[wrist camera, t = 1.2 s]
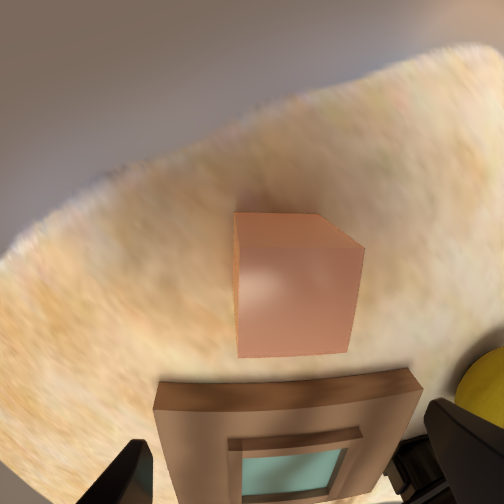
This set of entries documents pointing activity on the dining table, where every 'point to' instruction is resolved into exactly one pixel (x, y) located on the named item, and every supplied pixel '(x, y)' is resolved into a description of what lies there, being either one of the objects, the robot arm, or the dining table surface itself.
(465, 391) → the lemon
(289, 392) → the brown flat frame
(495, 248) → the dining table surface
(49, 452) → the dining table surface
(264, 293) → the terracotta block
